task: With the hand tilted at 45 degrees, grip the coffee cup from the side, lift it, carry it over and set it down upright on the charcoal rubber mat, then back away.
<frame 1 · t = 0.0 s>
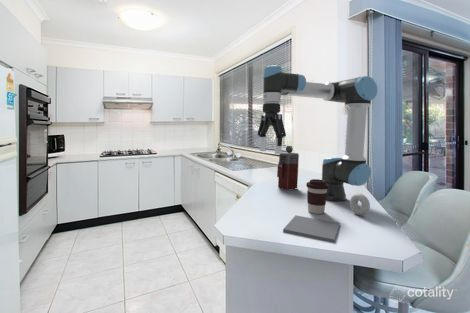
hand: (269, 152, 112), 28 cm above the countertop, tool pointing down, fingers open, 13 cm apart
coffee cup: (315, 212, 119), on the countertop
donut: (358, 215, 116), on the countertop
mat: (312, 228, 99), on the countertop
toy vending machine: (286, 188, 167), on the countertop
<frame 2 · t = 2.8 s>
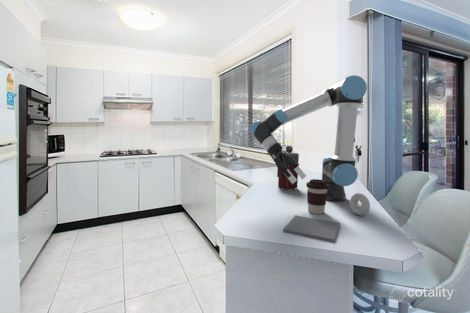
hand: (299, 179, 122), 14 cm above the countertop, tool tilted 45°, fingers open, 13 cm apart
nothing on the countertop moved.
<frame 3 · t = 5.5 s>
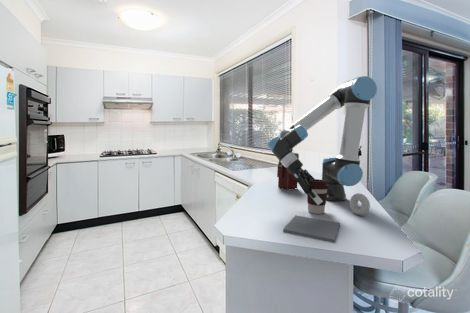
hand: (323, 200, 117), 6 cm above the countertop, tool tilted 45°, fingers closed on coffee cup, 10 cm apart
coffee cup: (315, 212, 119), on the countertop, touching gripper
everything else where it was.
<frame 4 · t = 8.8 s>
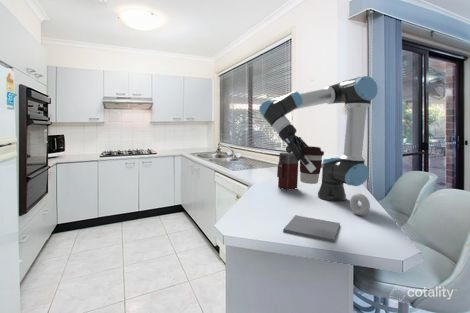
hand: (317, 169, 105), 22 cm above the countertop, tool tilted 45°, fingers closed on coffee cup, 10 cm apart
coffee cup: (308, 182, 108), point 16 cm above the countertop, touching gripper
everything else where it was.
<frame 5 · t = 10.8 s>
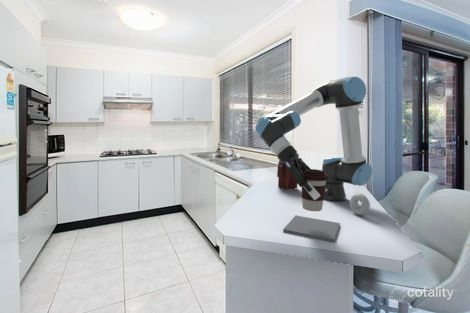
hand: (321, 195, 96), 14 cm above the countertop, tool tilted 45°, fingers closed on coffee cup, 10 cm apart
coffee cup: (312, 209, 98), point 8 cm above the countertop, touching gripper
everything else where it was.
when the fingers open (8 cm above the countertop, at t = 12.4 s): coffee cup drops 1 cm, resting on mat.
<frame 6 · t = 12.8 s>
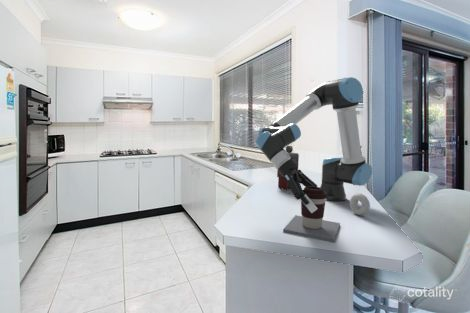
hand: (319, 206, 97), 9 cm above the countertop, tool tilted 45°, fingers open, 13 cm apart
coffee cup: (311, 226, 99), point 1 cm above the countertop, touching mat
everything else where it was.
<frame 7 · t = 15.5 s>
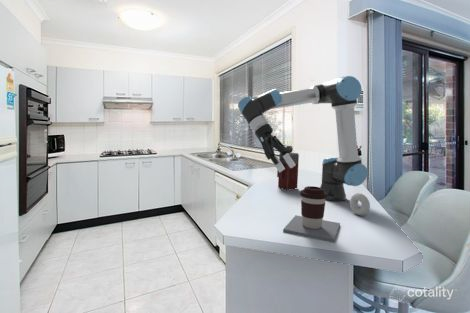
hand: (288, 168, 107), 22 cm above the countertop, tool tilted 40°, fingers open, 13 cm apart
nothing on the countertop moved.
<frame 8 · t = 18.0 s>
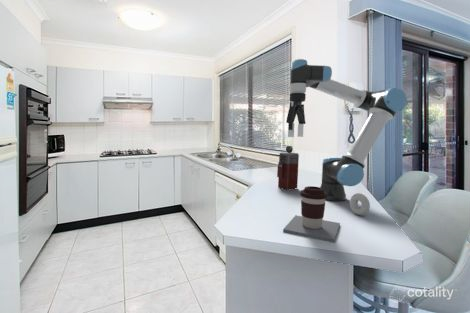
hand: (295, 136, 126), 35 cm above the countertop, tool pointing down, fingers open, 13 cm apart
nothing on the countertop moved.
at the end: coffee cup inside the target area on the mat (0.4 cm from its centre), point 0.8 cm above the mat's base; coffee cup tilted 0°; the gripper is holding nothing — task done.
